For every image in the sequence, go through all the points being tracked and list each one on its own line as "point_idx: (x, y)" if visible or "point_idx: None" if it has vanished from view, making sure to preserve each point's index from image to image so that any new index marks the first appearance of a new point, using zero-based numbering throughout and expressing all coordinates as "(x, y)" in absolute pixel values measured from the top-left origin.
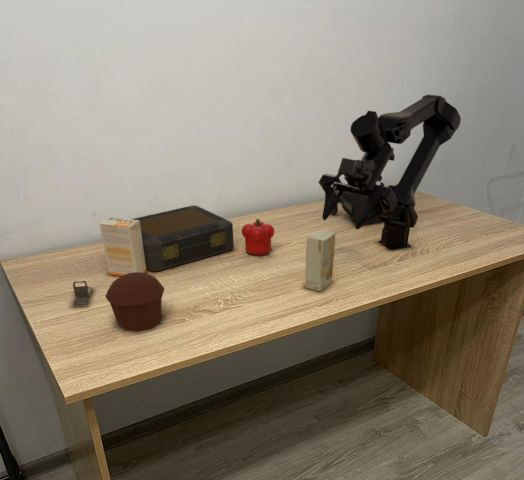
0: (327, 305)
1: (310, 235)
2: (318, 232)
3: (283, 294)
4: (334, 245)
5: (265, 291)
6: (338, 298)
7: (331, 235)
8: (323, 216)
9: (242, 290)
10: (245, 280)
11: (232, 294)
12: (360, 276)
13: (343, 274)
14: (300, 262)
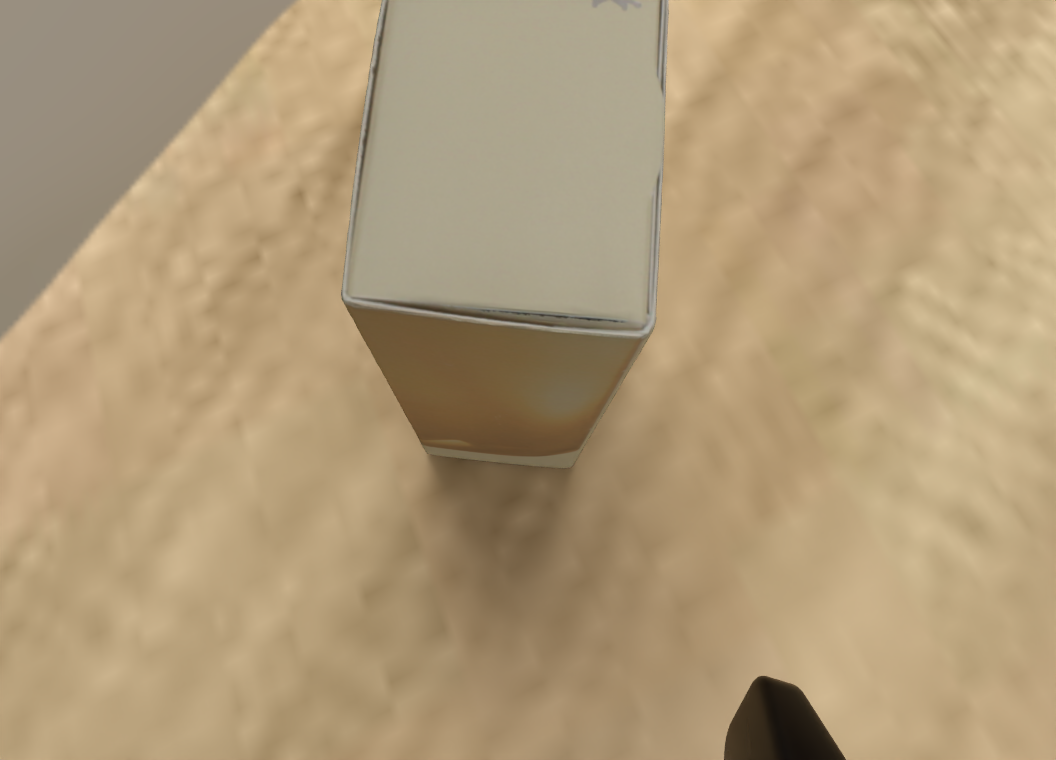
0: (336, 109)
1: (659, 49)
2: (598, 185)
3: (674, 128)
4: (376, 360)
5: (806, 118)
6: (294, 227)
7: (370, 181)
8: (783, 699)
9: (948, 71)
10: (1032, 206)
11: (965, 2)
12: (223, 693)
13: (384, 663)
14: (858, 744)
